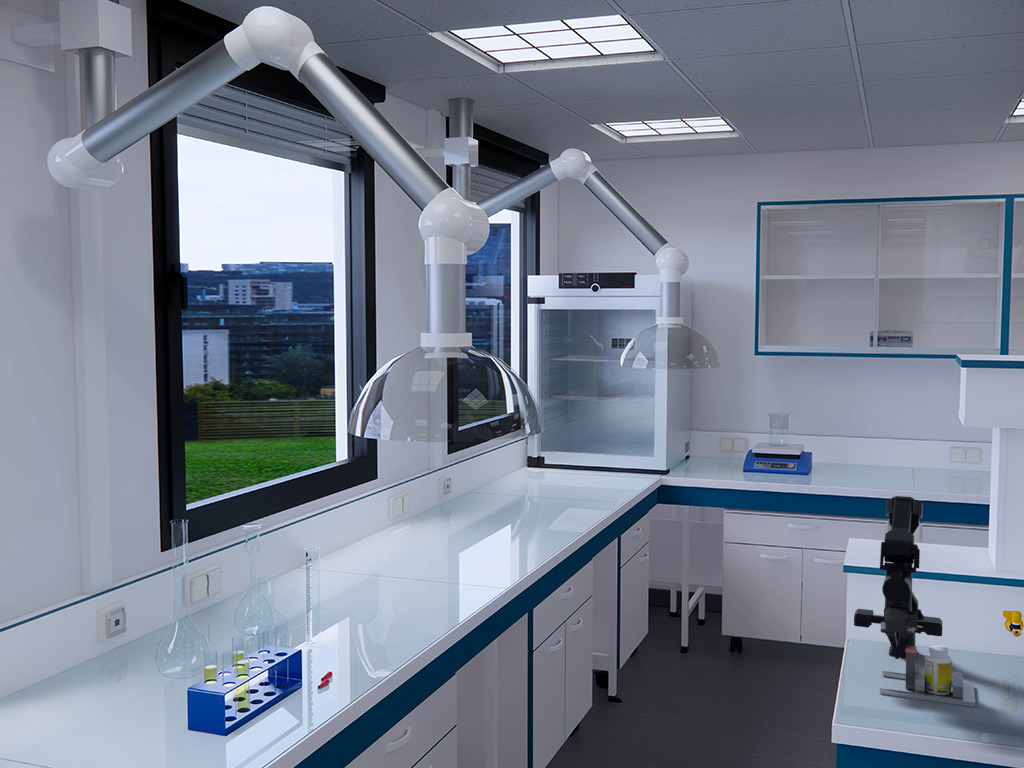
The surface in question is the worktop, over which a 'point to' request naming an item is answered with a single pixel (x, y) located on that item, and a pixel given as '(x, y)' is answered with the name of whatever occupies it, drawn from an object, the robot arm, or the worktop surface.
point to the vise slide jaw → (914, 672)
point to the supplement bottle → (938, 670)
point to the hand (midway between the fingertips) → (897, 658)
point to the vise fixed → (960, 691)
